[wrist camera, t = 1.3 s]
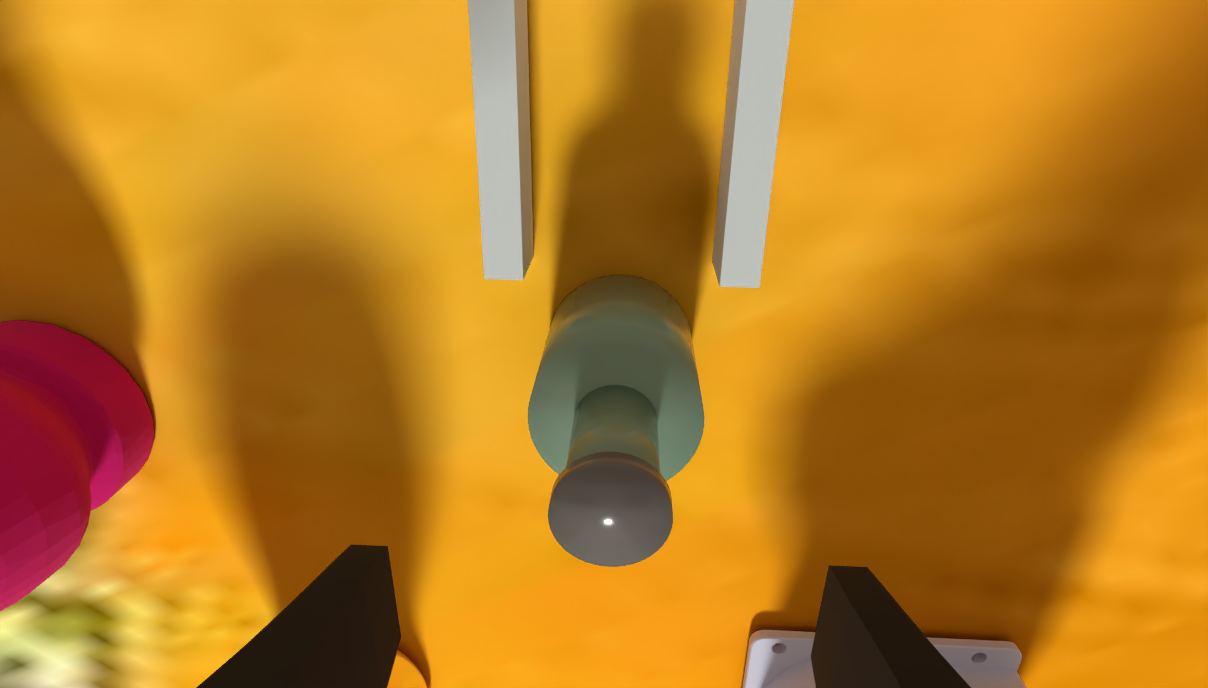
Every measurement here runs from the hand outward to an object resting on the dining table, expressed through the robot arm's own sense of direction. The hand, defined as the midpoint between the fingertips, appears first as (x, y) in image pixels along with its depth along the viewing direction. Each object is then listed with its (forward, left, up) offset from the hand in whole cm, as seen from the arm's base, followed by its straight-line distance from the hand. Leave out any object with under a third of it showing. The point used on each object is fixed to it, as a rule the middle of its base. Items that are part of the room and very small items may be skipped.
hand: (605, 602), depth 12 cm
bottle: (0, 0, -10) cm, 10 cm away
